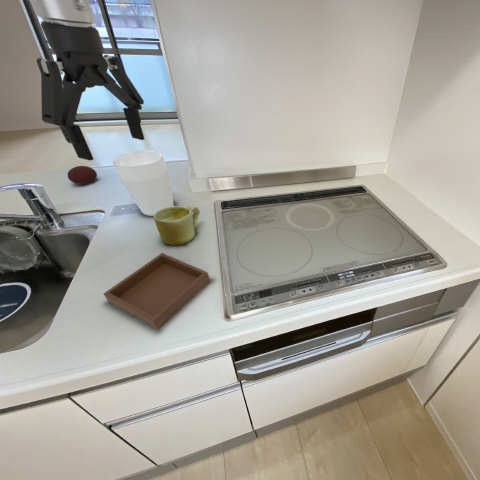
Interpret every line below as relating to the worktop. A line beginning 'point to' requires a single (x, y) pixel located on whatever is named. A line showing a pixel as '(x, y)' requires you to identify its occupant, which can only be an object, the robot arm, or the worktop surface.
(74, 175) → the dark red rounded lump
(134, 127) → the robot arm
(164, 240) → the mug
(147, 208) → the cup
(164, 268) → the tray
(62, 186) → the worktop surface
